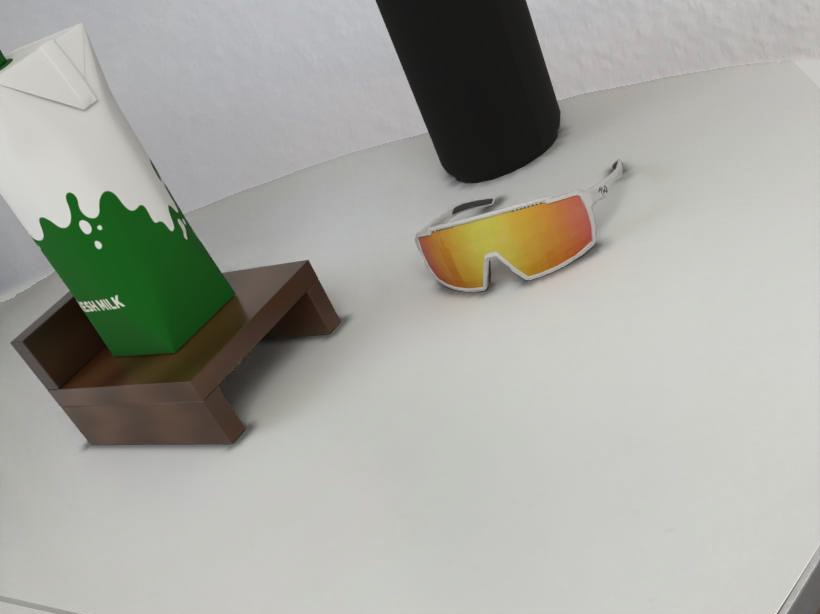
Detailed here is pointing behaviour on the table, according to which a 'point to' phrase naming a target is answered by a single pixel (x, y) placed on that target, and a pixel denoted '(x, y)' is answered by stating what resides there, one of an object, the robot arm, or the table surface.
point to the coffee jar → (476, 82)
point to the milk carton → (100, 201)
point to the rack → (171, 361)
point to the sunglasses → (512, 236)
